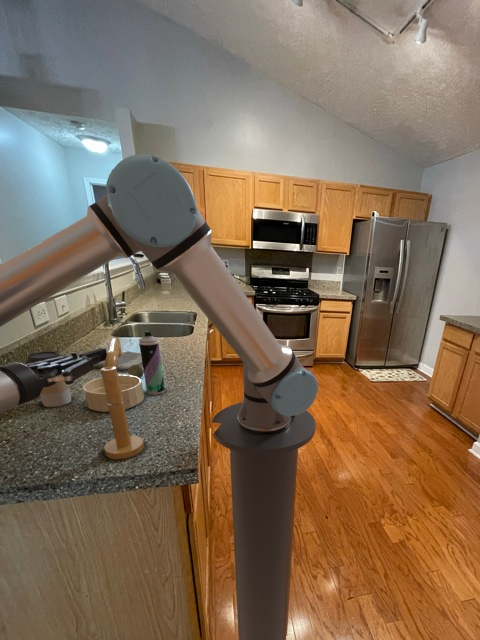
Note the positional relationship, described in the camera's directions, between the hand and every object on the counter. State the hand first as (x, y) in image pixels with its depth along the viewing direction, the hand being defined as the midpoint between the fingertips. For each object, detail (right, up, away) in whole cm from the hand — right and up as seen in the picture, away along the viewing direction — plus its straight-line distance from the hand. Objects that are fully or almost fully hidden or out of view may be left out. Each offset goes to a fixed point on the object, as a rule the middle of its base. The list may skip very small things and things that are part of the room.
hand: (104, 353), depth 78 cm
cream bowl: (-8, -12, +18) cm, 23 cm away
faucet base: (+7, -23, -4) cm, 24 cm away
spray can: (0, -9, +27) cm, 28 cm away
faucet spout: (+2, -7, +1) cm, 7 cm away
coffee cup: (-24, -12, +16) cm, 32 cm away
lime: (-11, -4, +37) cm, 39 cm away
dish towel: (-23, +3, +51) cm, 56 cm away
